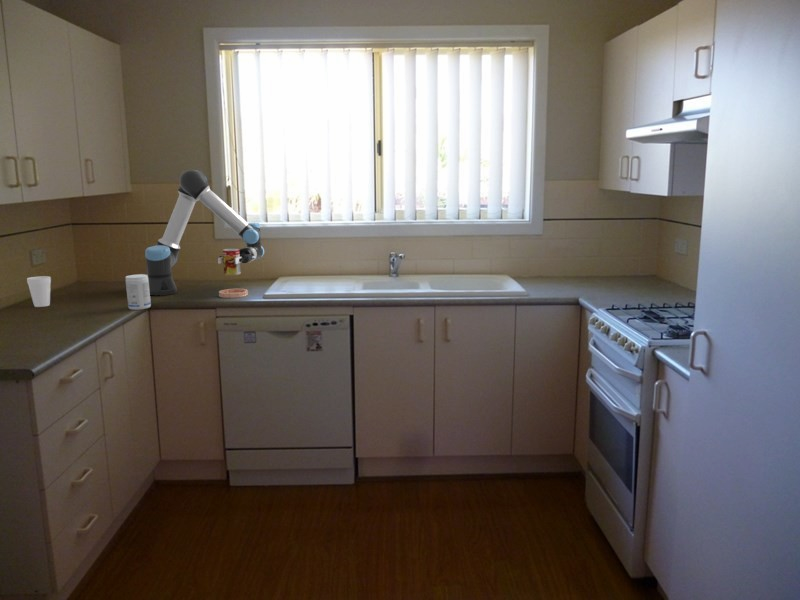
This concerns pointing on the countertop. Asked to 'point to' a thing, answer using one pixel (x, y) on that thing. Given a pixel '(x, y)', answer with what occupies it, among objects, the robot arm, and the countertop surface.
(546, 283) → the countertop surface
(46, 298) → the foam cup
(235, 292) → the terracotta dish
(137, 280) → the supplement tub
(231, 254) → the canned food
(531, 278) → the countertop surface
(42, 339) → the countertop surface
